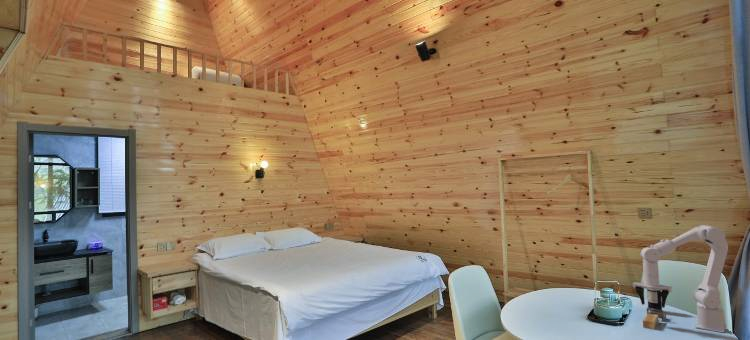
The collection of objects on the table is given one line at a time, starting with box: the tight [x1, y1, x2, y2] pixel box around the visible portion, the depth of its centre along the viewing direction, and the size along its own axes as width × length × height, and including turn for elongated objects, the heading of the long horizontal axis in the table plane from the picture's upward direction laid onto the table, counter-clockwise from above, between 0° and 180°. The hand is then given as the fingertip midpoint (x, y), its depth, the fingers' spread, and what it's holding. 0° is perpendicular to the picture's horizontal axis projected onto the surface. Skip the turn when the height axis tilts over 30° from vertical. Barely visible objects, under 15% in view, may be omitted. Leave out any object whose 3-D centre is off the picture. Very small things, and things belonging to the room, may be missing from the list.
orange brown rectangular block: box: [642, 313, 659, 330], centre depth 186 cm, size 4×12×4 cm, turn 138°
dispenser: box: [646, 307, 667, 323], centre depth 194 cm, size 6×6×5 cm
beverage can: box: [646, 289, 663, 313], centre depth 204 cm, size 6×6×12 cm
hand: (653, 305), depth 186 cm, fingers open, 7 cm apart
